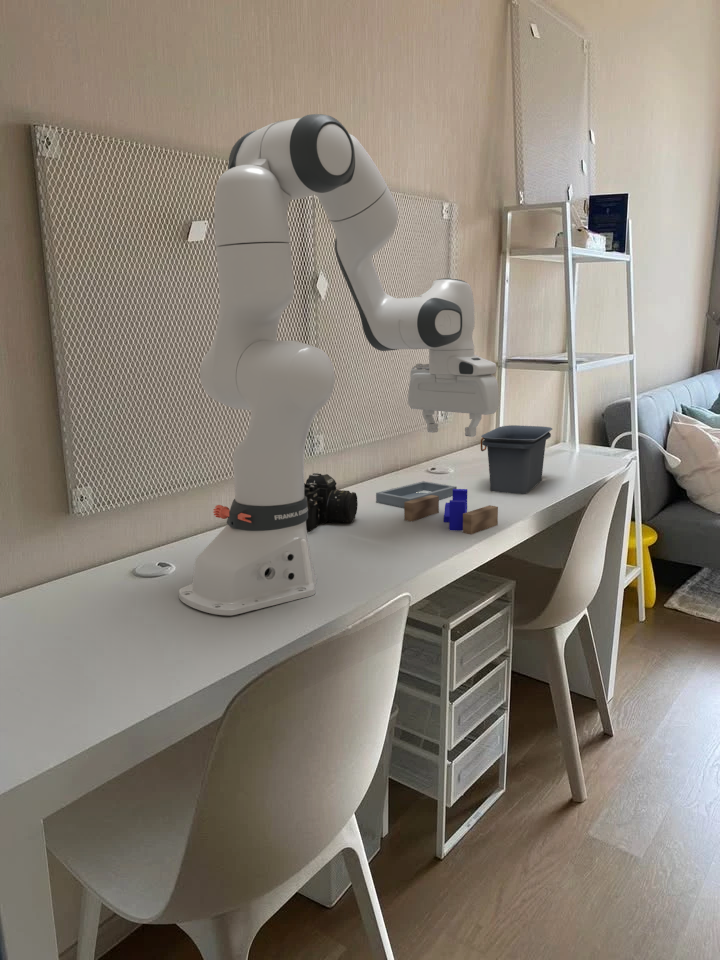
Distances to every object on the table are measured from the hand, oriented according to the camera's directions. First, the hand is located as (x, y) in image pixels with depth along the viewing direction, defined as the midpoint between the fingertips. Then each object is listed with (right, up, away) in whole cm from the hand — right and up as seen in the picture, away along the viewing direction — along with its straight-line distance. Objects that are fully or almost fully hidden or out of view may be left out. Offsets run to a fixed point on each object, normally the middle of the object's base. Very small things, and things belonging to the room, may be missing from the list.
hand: (451, 434), depth 151 cm
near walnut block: (+6, -19, -1) cm, 20 cm away
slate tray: (-5, -14, +24) cm, 28 cm away
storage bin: (+19, -12, +34) cm, 41 cm away
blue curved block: (+1, -18, +4) cm, 19 cm away
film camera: (-25, -18, +6) cm, 31 cm away
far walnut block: (-5, -17, +9) cm, 20 cm away
